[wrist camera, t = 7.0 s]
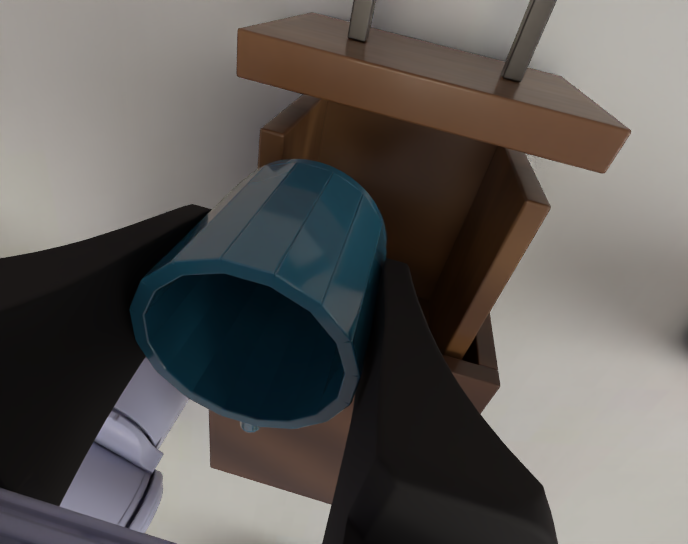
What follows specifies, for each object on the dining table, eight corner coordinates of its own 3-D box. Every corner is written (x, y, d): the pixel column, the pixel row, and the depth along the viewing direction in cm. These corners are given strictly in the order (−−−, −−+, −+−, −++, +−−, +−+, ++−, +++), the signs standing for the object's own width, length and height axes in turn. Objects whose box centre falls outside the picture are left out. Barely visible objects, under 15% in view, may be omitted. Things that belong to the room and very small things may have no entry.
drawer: (331, -158, 13) (243, -269, 7) (641, -84, 13) (808, -140, 7) (280, 256, 24) (228, 344, 18) (450, 304, 23) (452, 410, 17)
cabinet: (281, 198, 22) (205, 300, 15) (481, 254, 22) (501, 386, 15) (264, 353, 31) (209, 467, 23) (409, 396, 30) (399, 526, 23)
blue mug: (233, 137, 11) (111, 227, 7) (407, 184, 11) (386, 305, 7) (229, 313, 16) (152, 433, 11) (355, 349, 15) (322, 485, 11)
